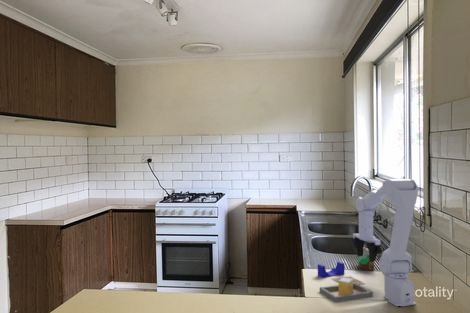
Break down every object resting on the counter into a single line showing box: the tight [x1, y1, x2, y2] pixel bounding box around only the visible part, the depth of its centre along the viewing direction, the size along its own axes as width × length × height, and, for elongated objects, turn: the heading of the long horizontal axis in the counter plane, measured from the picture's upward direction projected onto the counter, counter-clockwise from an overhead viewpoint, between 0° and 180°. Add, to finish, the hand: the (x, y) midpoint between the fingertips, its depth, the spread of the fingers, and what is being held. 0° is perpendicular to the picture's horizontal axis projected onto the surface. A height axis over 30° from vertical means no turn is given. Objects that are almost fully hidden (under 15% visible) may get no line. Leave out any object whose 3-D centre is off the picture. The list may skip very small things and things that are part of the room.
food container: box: [355, 244, 375, 272], centre depth 159 cm, size 12×6×10 cm, turn 178°
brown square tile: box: [331, 275, 366, 286], centre depth 138 cm, size 10×10×1 cm
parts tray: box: [319, 283, 374, 303], centre depth 125 cm, size 10×16×2 cm, turn 109°
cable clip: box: [317, 261, 345, 278], centre depth 147 cm, size 12×4×6 cm, turn 113°
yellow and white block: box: [338, 276, 354, 296], centre depth 125 cm, size 4×5×6 cm
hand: (366, 258), depth 142 cm, fingers open, 7 cm apart
